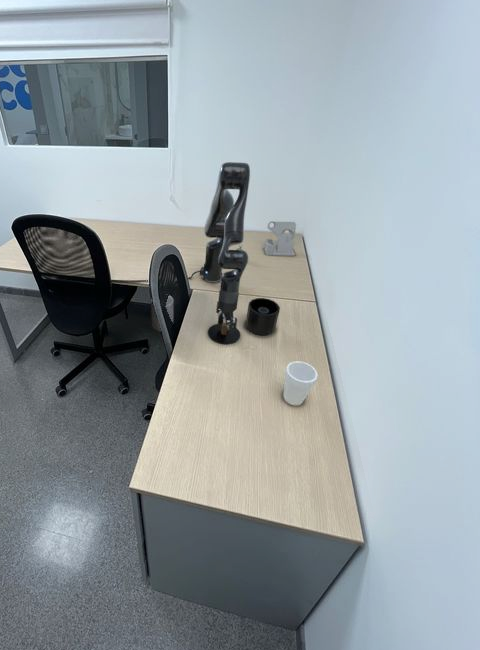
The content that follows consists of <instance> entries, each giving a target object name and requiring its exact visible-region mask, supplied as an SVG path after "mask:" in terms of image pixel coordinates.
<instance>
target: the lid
mask: <svg viewBox="0 0 480 650" xmlns="http://www.w3.org/2000/svg"><path fill="white" fill-rule="evenodd" d="M226 332H227V325H226V324H225V321H223V323H222V324H218V323H215V324H212V325H211V326H210V327H209V328H208V329H207V336H208V338H209V339H210V340H211V341H213V342H214V343H216V344H220V345H225V346H226V345H232V344H235V343H236V342H238V341H239V340H240V338H241V332H240V331H239V329H238V328H237V327H236V330H235V331H232V335H231V336H228V337H227V336H226Z"/></svg>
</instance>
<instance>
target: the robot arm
mask: <svg viewBox="0 0 480 650" xmlns="http://www.w3.org/2000/svg"><path fill="white" fill-rule="evenodd" d="M250 180H251V168H250V164H249V163H247V162H239V161H235V162H234V161H227V162H223V163H222V164H221V166H220V168H219V171H218V176H217V181H216V188H215V191H214V195H213V198H212V201H211V203H210V209H209V213H208V215H207V218H206V220H205V223H204V228H203V231H204V235H205V237H207V238H209V239H210V238H212V239H213V240H210V241H208V242H207V243H206V245H205V259H204V263H203V266H201V267H200V270H197V271H195V272H193V273H192V274H191V276H189V277H187V278H188V279H187V280H190V279H192V278H193V277H194V275H196V274H197V273H199V276H202V280H204V281H206V282H208V283H219V282H220V288H219V291H218V301H217V302H216V308H215V309H216V310H215V312H216V314H217V324H222V323H223V322H225V324H226V325H227V332H226V336H227V337H228V336H231V335H232V331H235V330H236V328H237V323H238V318H237V317H234V312H235V311H236V310H237V308H238V302H239V295H240V293H239V292H240V283H241V279H242V276H243V273H244V271H245V270H246V268H247V265H248V262H249V254H248V252H247V251H245V250H243V249H242V250H236V249H230V248H231V247H232V246H236V245H240V244H242V243H243V242H244V234H245V233H244V230H245V215H246V208H247V201H248V195H249V187H250ZM229 190H239V191H238V196H237V197H236V198H237V199H236V200H235V199H234V196H233V195H232V193H231V192H230V191H229ZM223 270H228V271H225V272H223ZM111 280H112V281H111V282H123V283H124V282H125V283H127V282H128V283H137V282H139V283H140V282H141V283H142V282H149V281H148V280H149V279H140V280H139V279H137V280H136V279H135V280H133V279H131V280H130V279H129V280H126V279H111ZM146 280H147V281H146Z"/></svg>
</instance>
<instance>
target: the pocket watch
mask: <svg viewBox="0 0 480 650" xmlns="http://www.w3.org/2000/svg"><path fill="white" fill-rule="evenodd" d="M238 245H239V247H238V248H236V249H235V250H243V249H242V248H243V245H242V243H240V244H238Z"/></svg>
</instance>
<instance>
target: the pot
mask: <svg viewBox="0 0 480 650" xmlns="http://www.w3.org/2000/svg"><path fill="white" fill-rule="evenodd" d="M260 307H265V308H267V309H269V314H262V313H258V308H260ZM280 311H281V307H280V305H279V304H278V303H277V302H276V301H274V300H272V299H271V298H265V297H257V298H253V299H251V300H249V302H248V306H247V312H246V317H245V323H244V327H245V330H246V331H248V332H249V333H250V334H252V335H255V336H257V337H258V336H260V337H267V336H271V335H273V334H274V333H275V331H276V327H277V323H278V320H279V315H280Z"/></svg>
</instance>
